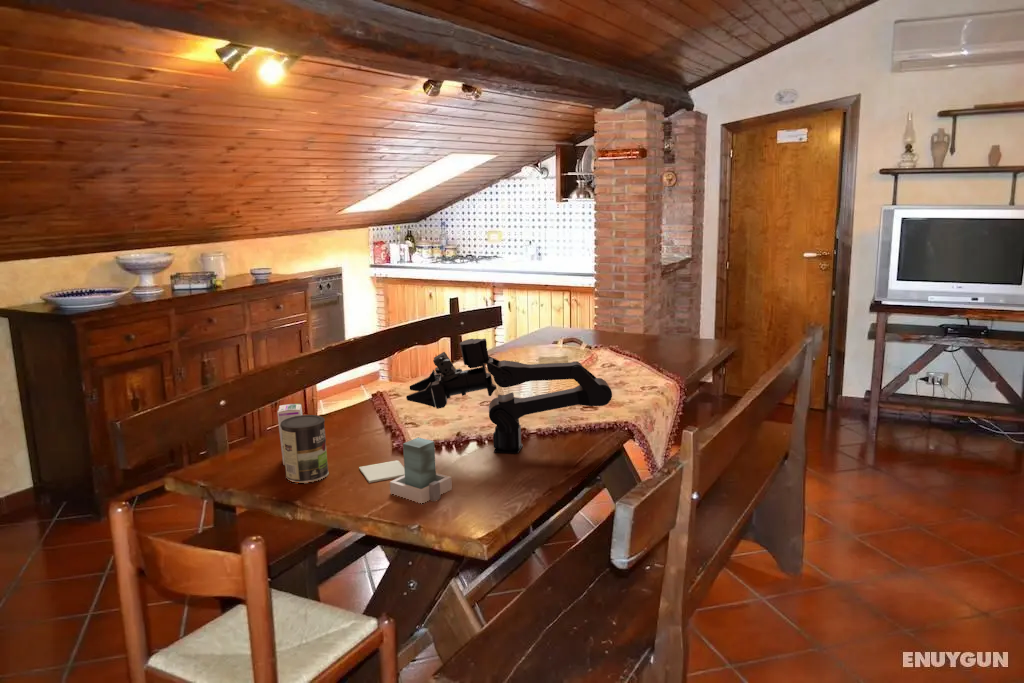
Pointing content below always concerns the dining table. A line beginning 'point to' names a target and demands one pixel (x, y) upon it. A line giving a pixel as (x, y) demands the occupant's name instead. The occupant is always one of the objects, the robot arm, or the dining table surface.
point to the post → (419, 462)
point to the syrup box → (286, 413)
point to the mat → (383, 471)
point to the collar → (421, 495)
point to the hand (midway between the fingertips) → (408, 393)
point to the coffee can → (304, 448)
